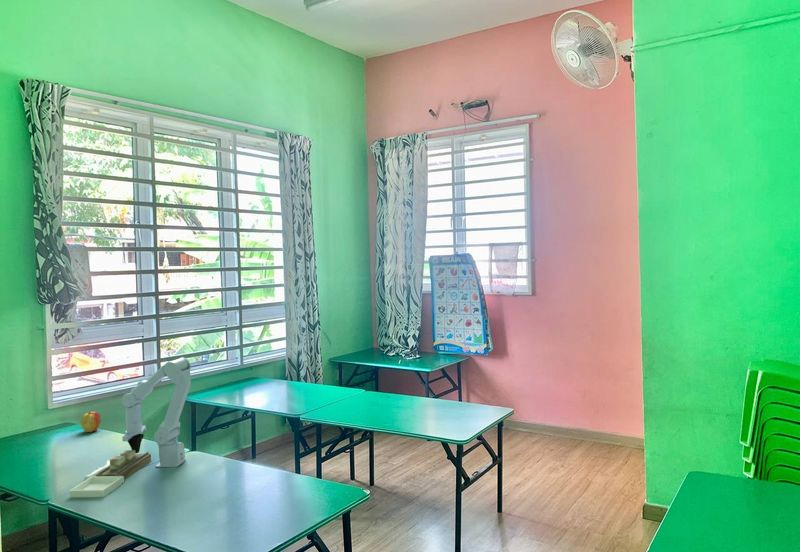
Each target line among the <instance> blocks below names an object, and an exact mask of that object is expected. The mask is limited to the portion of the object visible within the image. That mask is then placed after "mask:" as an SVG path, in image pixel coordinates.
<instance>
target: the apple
mask: <svg viewBox="0 0 800 552" xmlns="http://www.w3.org/2000/svg"><path fill="white" fill-rule="evenodd" d="M101 418H102V417H101V415H100V414H99V412H97V411H88V412H86V413H85V414H83V415H82V416H81V418H80V425H81V428H82V429H83V431H84V432H85V433H89V432H90V433H93V431H94V432H95V431H97V430H98V429H99V427H100V425H101V422H102V421H101V420H102V419H101Z"/></svg>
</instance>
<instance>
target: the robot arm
mask: <svg viewBox="0 0 800 552" xmlns="http://www.w3.org/2000/svg"><path fill="white" fill-rule="evenodd" d="M191 369H192V365H191V363H190V362H189V360H188V359H187V358H185V357H179V358H177V359H174V360H171V361H167V362H166V363H165V364H163V365H162V366H160V368H158V370H157V371H156V372H154V374H153V375H151V376H150V378H148V379H147V380H140V381H138V382H137V385H136V386H135V387H134V388H131V389H130V391H129V392H128V393H124V394H123V396H122V397H121V405H122V406H123V407H124V409H125V424H126V431H124V435H122V442H127V443H128V445H129V447H130V449H131V450H135V454H140V450H141V444H142V441H143V438H144V437H145V434H144V433H143V432H144V431H147V426H146V425H142V424H143V423H142V412H141V407H142V402H143V400H144V399H145V398H146V397H148V395H149V394H151V393H152V392H153V390H154V386H155V385H156V384H158V383H159V382H160V381H161V380H162V379H164V378H166V377H167V378H168V379H169V380H170V381H171V382H172V383H173V384H174V385H175V388H174V390H173V393H172V396H171V398H170V402H169V405H168V408H167V410H166V415H165V417H164V420H163V421H162V423H160V425H159V426H158V429H157V430H156V431H155V432H154V435H153V440H154V443H156V444H157V446H158V458H159V463H158V464H156V465H155V468H178V467H179V466H180V465H181V464H183V463H184V462H185V461H187V458H186V453H185V444H184V443H183V442H180V441H178V437H179V436H180V434H181V422H180V417H181V415H182V411H183V408H184V406H185V402H186V400H187V397H188V394H189V391H190V388H191V384H192V379H191Z"/></svg>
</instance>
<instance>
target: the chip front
mask: <svg viewBox="0 0 800 552" xmlns="http://www.w3.org/2000/svg"><path fill="white" fill-rule="evenodd" d="M109 460H110V469H121V468H123V467H124V466H126V463H125V456H120V455H115V456H113V457H111V458H109Z"/></svg>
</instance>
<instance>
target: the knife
mask: <svg viewBox="0 0 800 552" xmlns="http://www.w3.org/2000/svg"><path fill="white" fill-rule="evenodd" d="M109 465H110V459H108V460H106V464H105V465H104V466H102V467H99V466H98V467H96V468H95V470H93V472H91V473H90V474H87V475H84V477H83V478H84V481H85V480H87V479H88V478H90V477H92V476H96V474H98V472H100V471H102V470H103V469H105V468H106V467H108V466H109Z"/></svg>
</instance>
